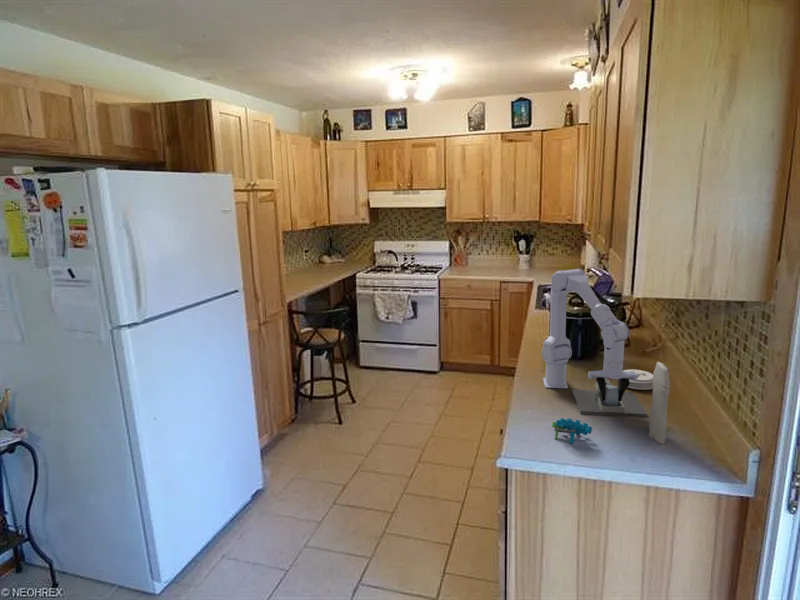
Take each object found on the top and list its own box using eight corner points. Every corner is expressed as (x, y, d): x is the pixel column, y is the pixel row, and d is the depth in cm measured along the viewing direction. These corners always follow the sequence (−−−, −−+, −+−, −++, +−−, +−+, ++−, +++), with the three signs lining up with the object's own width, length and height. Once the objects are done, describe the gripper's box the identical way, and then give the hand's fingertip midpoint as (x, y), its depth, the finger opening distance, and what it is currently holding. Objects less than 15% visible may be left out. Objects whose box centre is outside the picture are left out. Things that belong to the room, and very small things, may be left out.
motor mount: (572, 392, 178) (572, 376, 177) (632, 395, 174) (633, 378, 173) (580, 413, 161) (581, 396, 159) (647, 417, 157) (648, 399, 156)
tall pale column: (670, 445, 139) (677, 370, 135) (655, 444, 140) (661, 370, 135) (658, 428, 149) (664, 358, 145) (643, 427, 150) (648, 357, 146)
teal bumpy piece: (596, 432, 144) (587, 418, 138) (593, 452, 142) (584, 438, 135) (558, 427, 151) (548, 414, 145) (555, 446, 148) (544, 433, 142)
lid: (621, 377, 192) (622, 364, 191) (658, 383, 185) (659, 370, 184) (614, 387, 182) (615, 374, 181) (652, 394, 175) (654, 381, 174)
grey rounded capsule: (601, 402, 165) (602, 385, 164) (615, 402, 165) (616, 385, 163) (605, 407, 161) (606, 390, 160) (620, 408, 160) (621, 390, 159)
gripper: (591, 363, 157) (589, 403, 160) (641, 364, 154) (638, 405, 157) (587, 356, 164) (585, 395, 167) (635, 357, 161) (632, 397, 164)
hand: (610, 399), depth 162 cm, fingers closed on grey rounded capsule, 4 cm apart
